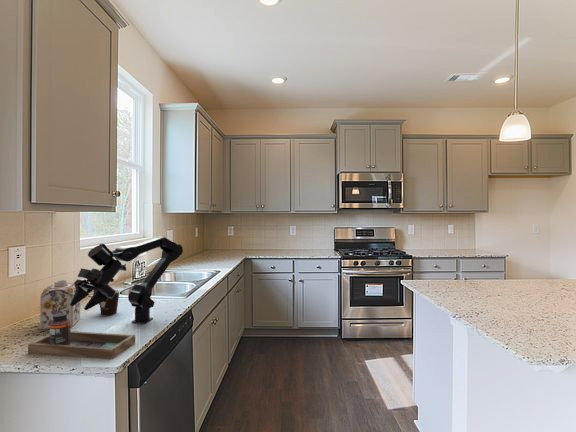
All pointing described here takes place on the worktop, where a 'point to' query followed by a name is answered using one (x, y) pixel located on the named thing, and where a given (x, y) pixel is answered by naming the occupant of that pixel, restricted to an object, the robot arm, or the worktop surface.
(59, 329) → the supplement bottle
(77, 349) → the wooden serving tray
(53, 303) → the decorative jar
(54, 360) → the worktop surface
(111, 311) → the coffee mug
